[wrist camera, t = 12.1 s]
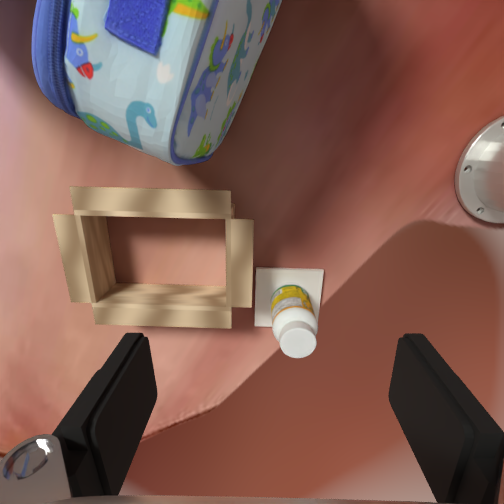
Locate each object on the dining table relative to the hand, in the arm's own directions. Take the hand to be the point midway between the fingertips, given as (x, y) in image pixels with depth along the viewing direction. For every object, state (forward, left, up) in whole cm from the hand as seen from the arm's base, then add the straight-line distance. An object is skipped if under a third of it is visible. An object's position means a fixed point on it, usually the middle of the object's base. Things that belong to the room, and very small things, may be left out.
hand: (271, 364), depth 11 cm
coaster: (-4, +13, -29) cm, 32 cm away
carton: (+12, +6, -29) cm, 32 cm away
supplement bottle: (-4, +13, -28) cm, 31 cm away
